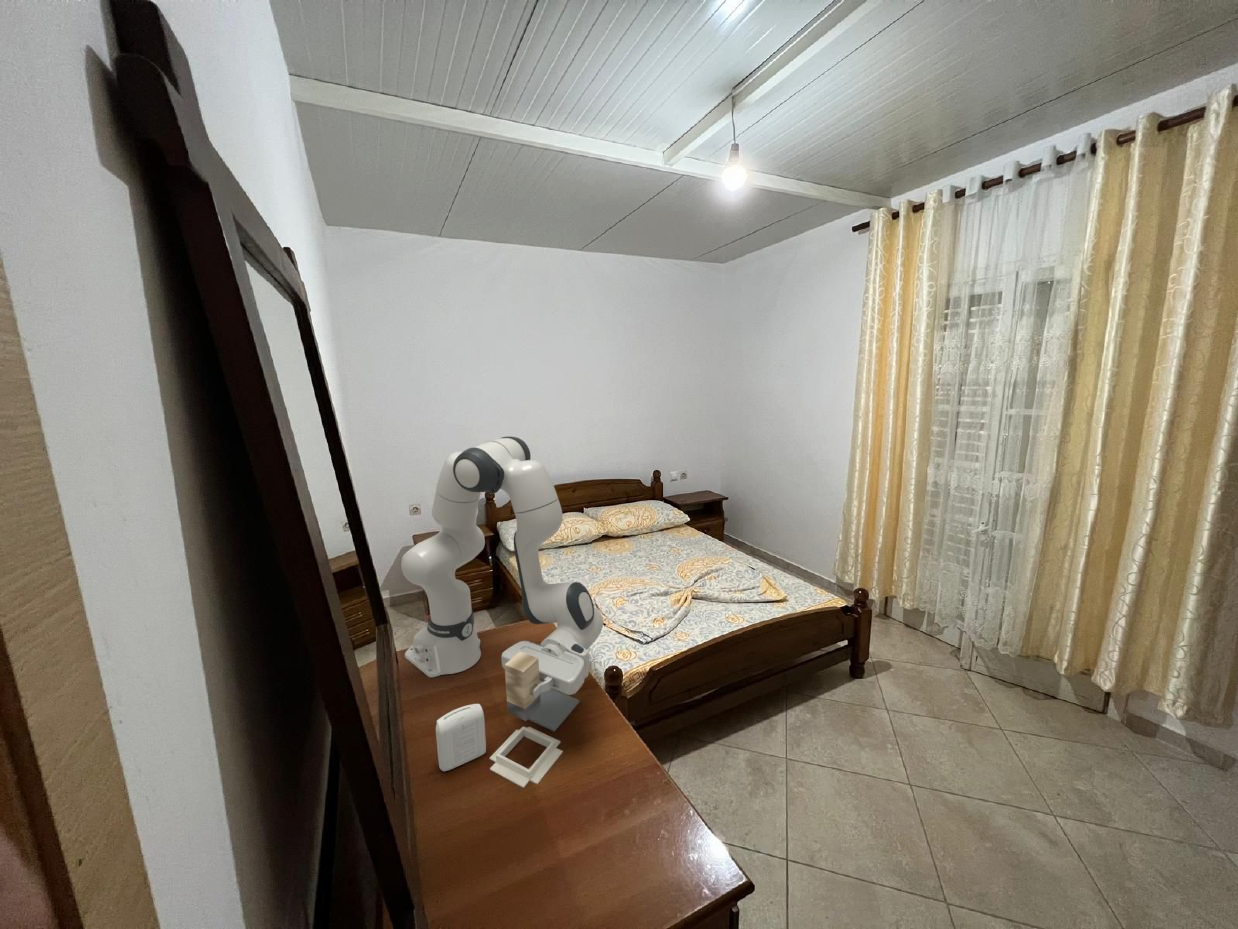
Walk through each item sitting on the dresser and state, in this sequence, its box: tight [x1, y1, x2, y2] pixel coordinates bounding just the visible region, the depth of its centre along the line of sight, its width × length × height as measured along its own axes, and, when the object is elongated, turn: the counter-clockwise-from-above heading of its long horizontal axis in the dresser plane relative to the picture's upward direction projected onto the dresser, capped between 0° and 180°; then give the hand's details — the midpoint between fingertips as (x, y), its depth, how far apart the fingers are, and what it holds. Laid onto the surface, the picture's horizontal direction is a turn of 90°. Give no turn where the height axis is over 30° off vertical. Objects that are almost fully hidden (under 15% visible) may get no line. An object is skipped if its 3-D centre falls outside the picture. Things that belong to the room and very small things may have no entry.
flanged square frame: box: [489, 726, 564, 789], centre depth 105 cm, size 13×13×2 cm
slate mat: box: [527, 688, 581, 732], centre depth 119 cm, size 11×11×1 cm
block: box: [504, 652, 541, 722], centre depth 101 cm, size 5×5×12 cm
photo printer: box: [435, 703, 487, 772], centre depth 103 cm, size 10×4×12 cm, turn 123°
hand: (520, 688), depth 101 cm, fingers closed on block, 5 cm apart
